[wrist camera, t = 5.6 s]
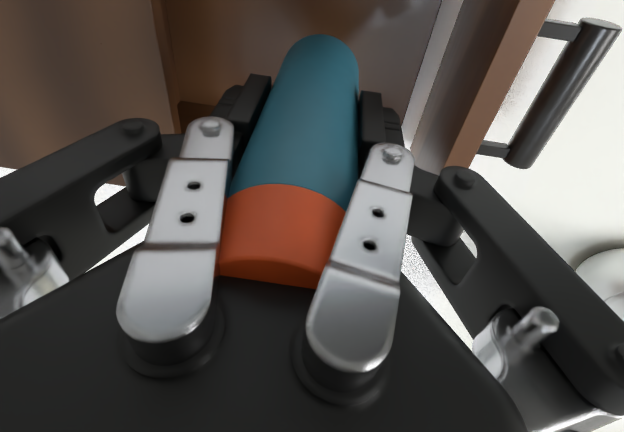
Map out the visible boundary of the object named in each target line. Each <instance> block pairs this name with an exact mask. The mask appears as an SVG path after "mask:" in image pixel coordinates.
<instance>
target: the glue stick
mask: <svg viewBox="0 0 624 432" xmlns="http://www.w3.org/2000/svg"><path fill="white" fill-rule="evenodd" d="M358 102H359V69H358V64H357V61H356V58H355V56H354V54H353V52H352V51H351V50H350V48H349V47H348V46H347V45H346V44H345V43H343V42H342V41H341V40H339V39H337V38H335V37H333V36H330V35H325V34H314V35H309V36H307V37H304V38H302V39H300V40H299V41H297V42H296V43H295V44H294V45H293V46H292V47H291V48H290V49H289V51H288V52H287V54H286V56H285V58H284V61H283V63H282V65H281V68H280V70H279V72H278V75H277V77H276V79H275V82H274V84H273V86H272V89H271V91H270V93H269V96H268V98H267V100H266V103H265V105H264V107H263V110H262V112H261V114H260V117H259V119H258V121H257V124H256V126H255V128H254V131H253V133H252V135H251V138H250V140H249V142H248V145H247V147H246V149H245V152H244V154H243V156H242V159H241V161H240V163H239V166H238V168H237V170H236V173H235V175H234V177H233V180H232V182H231V187H230V192H229V197H228V200H227V206H226V213H225V220H224V227H223V234H222V242H221V250H220V257H219V266H220V275H223V276H230V277H236V278H243V279H250V280H257V281H264V282H270V283H277V284H284V285H291V286H297V287H304V288H311V289H317V286H318V283H319V281H320V278H321V275H322V273H323V270H324V267H325V265H326V263H327V262H328V260H329V257H330V255H331V252H332V249H333V246H334V244H335V241H336V238H337V235H338V233H339V230H340V227H341V224H342V222H343V219H344V216H345V213H346V211H347V208H348V205H349V202H350V200H351V197H352V194H353V192H354V189H355V186H356V183H357V181H358Z"/></svg>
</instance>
